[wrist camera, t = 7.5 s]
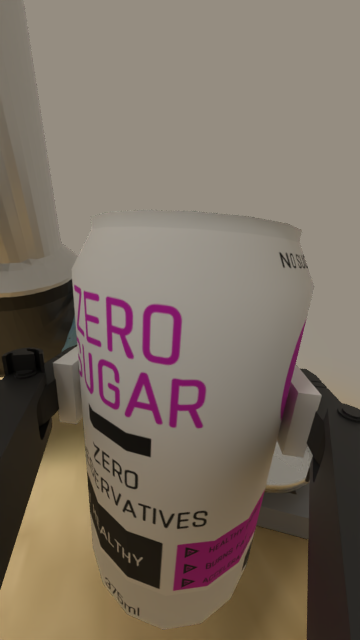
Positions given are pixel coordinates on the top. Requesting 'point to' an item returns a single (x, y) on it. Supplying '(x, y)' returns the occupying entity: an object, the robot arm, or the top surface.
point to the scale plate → (287, 471)
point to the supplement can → (183, 396)
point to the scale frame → (286, 512)
